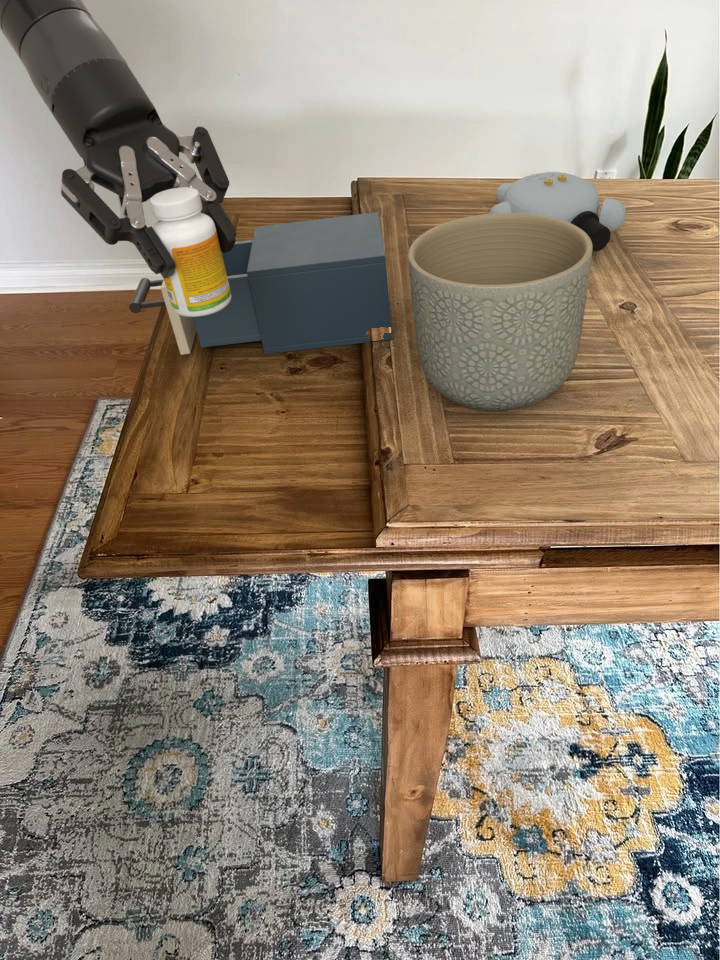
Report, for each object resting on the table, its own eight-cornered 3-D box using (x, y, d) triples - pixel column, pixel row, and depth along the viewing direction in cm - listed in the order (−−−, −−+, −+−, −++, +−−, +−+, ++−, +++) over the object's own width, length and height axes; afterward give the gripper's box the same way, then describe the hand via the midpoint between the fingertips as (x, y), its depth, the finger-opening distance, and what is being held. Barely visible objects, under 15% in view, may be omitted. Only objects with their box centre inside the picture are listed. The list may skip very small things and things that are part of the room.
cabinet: (264, 354, 88) (246, 271, 82) (270, 303, 99) (255, 226, 92) (392, 339, 88) (385, 255, 81) (385, 290, 98) (378, 211, 91)
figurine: (464, 228, 110) (541, 289, 97) (467, 172, 104) (549, 229, 91) (560, 201, 115) (646, 256, 102) (568, 145, 109) (660, 196, 95)
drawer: (138, 359, 89) (115, 292, 83) (156, 312, 98) (136, 249, 93) (298, 341, 88) (286, 272, 82) (301, 295, 98) (290, 231, 92)
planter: (519, 453, 69) (525, 304, 59) (384, 397, 78) (371, 260, 69) (608, 372, 77) (627, 230, 68) (478, 330, 87) (477, 201, 77)
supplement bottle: (243, 294, 66) (219, 185, 60) (210, 322, 63) (181, 209, 57) (195, 287, 68) (167, 181, 62) (160, 314, 65) (127, 205, 59)
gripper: (157, 99, 68) (257, 253, 68) (8, 141, 61) (120, 312, 61) (170, 36, 61) (281, 207, 61) (5, 76, 54) (131, 268, 55)
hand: (200, 259), depth 61 cm, fingers closed on supplement bottle, 5 cm apart
